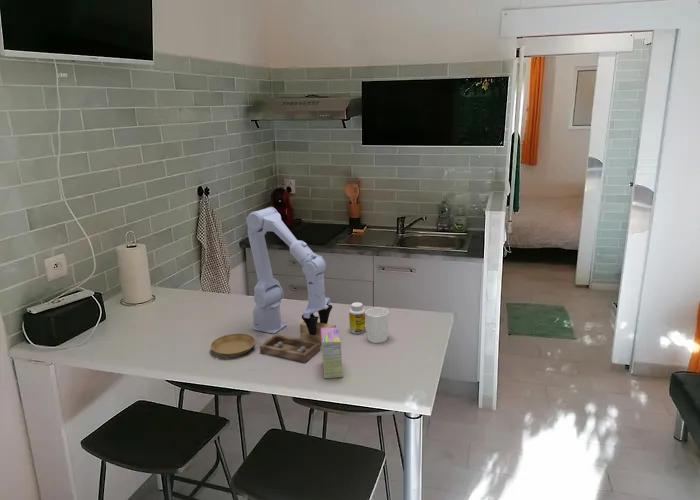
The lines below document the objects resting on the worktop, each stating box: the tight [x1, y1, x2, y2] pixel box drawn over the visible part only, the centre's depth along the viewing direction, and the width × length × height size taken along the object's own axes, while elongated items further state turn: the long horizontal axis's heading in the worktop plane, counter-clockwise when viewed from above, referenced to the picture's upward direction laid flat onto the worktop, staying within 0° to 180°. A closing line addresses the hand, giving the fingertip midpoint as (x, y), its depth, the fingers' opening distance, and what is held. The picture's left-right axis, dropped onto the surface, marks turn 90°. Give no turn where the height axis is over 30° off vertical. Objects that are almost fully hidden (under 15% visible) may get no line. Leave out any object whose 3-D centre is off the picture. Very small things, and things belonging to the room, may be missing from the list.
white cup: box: [365, 307, 390, 344], centre depth 183 cm, size 8×8×10 cm
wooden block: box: [299, 321, 337, 345], centre depth 184 cm, size 12×4×6 cm, turn 62°
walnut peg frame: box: [259, 334, 321, 364], centre depth 177 cm, size 17×9×3 cm, turn 63°
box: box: [321, 326, 343, 379], centre depth 163 cm, size 10×6×12 cm, turn 5°
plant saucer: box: [210, 333, 257, 358], centre depth 180 cm, size 15×15×3 cm
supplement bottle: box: [348, 302, 366, 335], centre depth 189 cm, size 6×6×10 cm
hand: (318, 329), depth 183 cm, fingers open, 7 cm apart
